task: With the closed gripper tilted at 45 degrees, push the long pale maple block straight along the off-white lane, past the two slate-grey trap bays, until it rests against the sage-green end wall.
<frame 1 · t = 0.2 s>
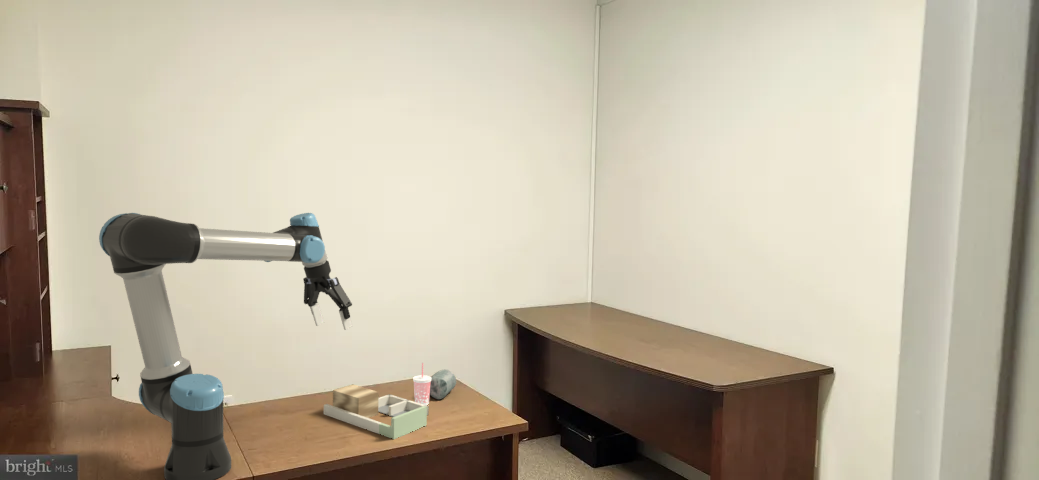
hand: (334, 326, 210), 27 cm above the table, fingers open, 13 cm apart
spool: (441, 395, 232), on the table
maple block: (355, 414, 211), resting in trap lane
beverage cup: (421, 404, 221), on the table
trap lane: (372, 419, 206), on the table
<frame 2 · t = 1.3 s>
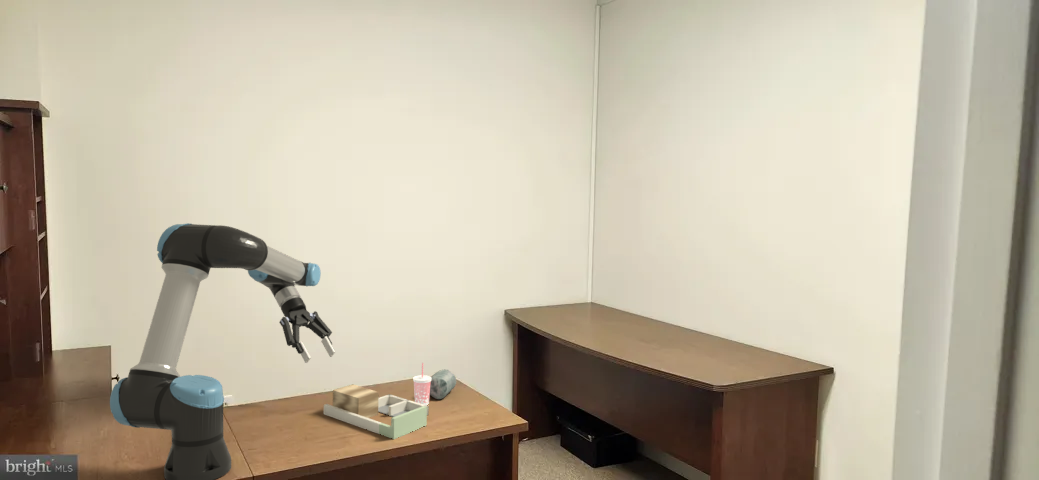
hand: (320, 357, 219), 15 cm above the table, fingers open, 9 cm apart
nothing on the table moved.
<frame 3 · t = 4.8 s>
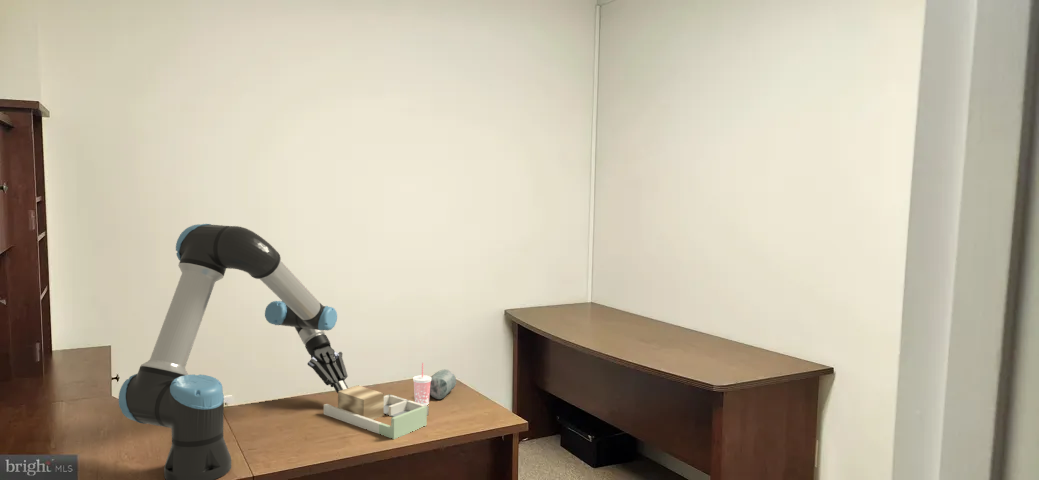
hand: (347, 400, 214), 3 cm above the table, fingers closed
maple block: (360, 415, 210), resting in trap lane
everything else where it was.
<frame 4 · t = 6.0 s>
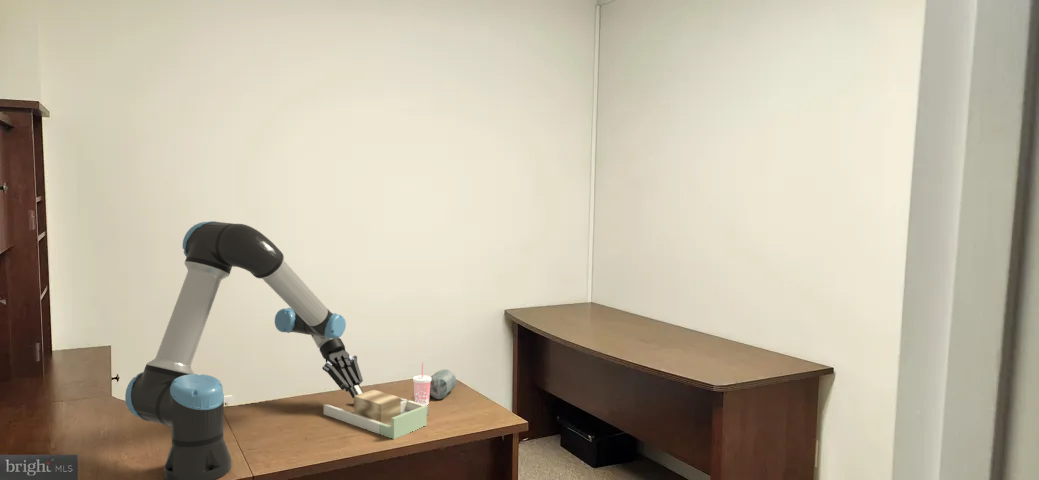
hand: (363, 404, 210), 3 cm above the table, fingers closed
maple block: (377, 420, 206), resting in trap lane, touching gripper
everything else where it was.
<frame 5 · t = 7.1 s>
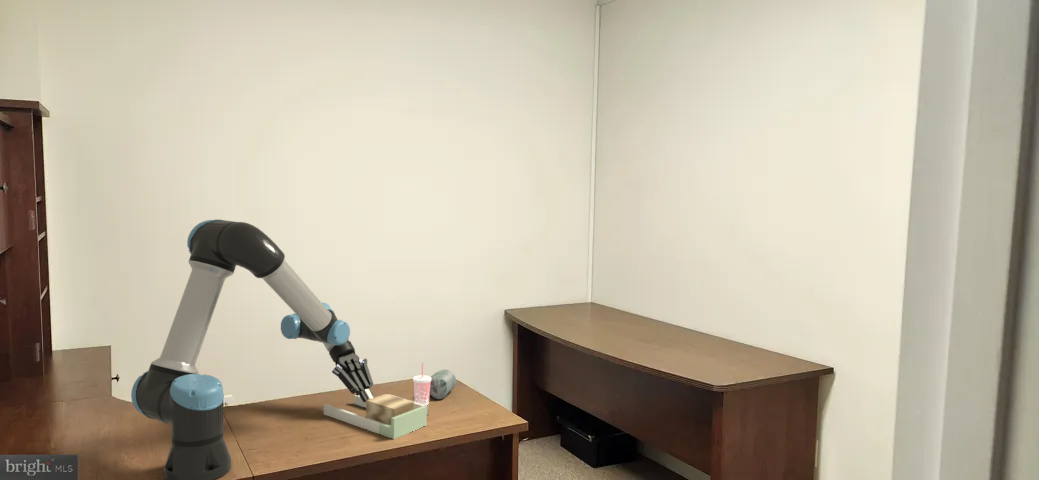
hand: (374, 408, 206), 3 cm above the table, fingers closed
maple block: (389, 425, 202), resting in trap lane
everything else where it was.
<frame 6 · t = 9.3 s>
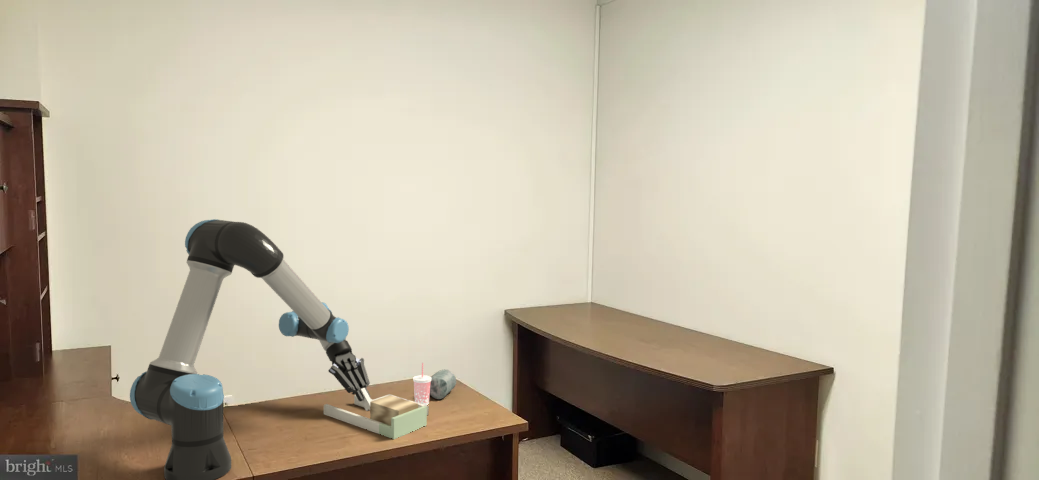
hand: (370, 408, 207), 3 cm above the table, fingers closed
maple block: (393, 427, 201), resting in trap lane
everything else where it was.
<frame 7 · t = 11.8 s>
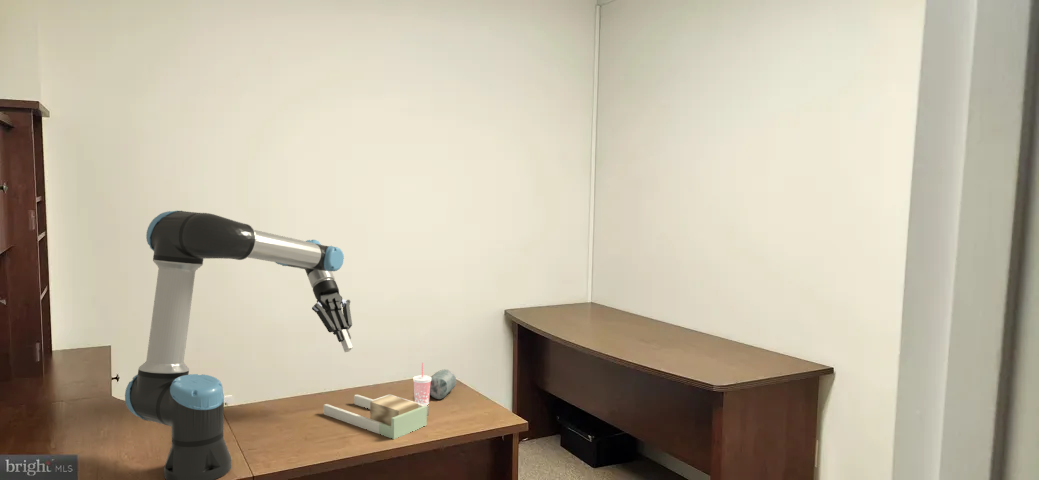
hand: (348, 349, 206), 21 cm above the table, fingers closed
nothing on the table moved.
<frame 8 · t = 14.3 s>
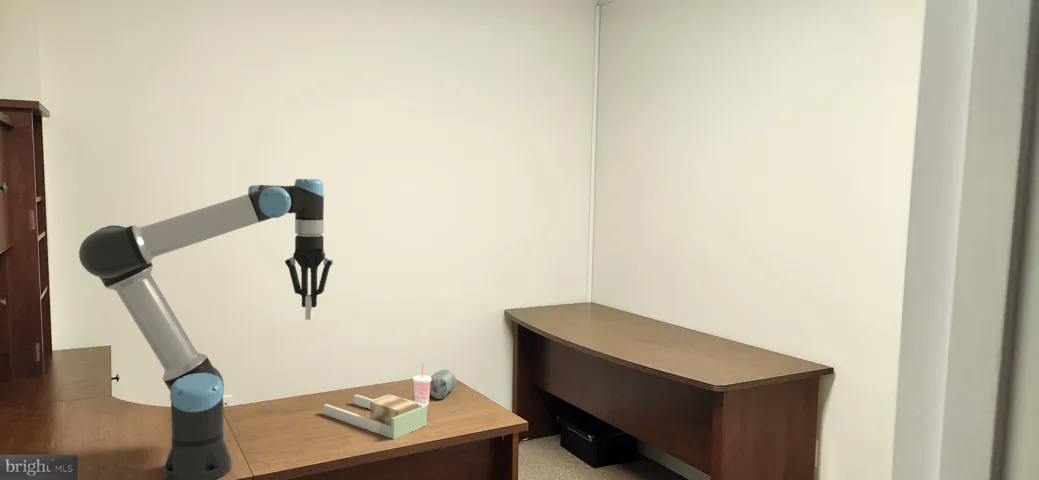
hand: (309, 318, 188), 34 cm above the table, fingers closed
nothing on the table moved.
at the end: maple block 0.2 cm from the target spot, resting in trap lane; maple block tilted 0° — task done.
